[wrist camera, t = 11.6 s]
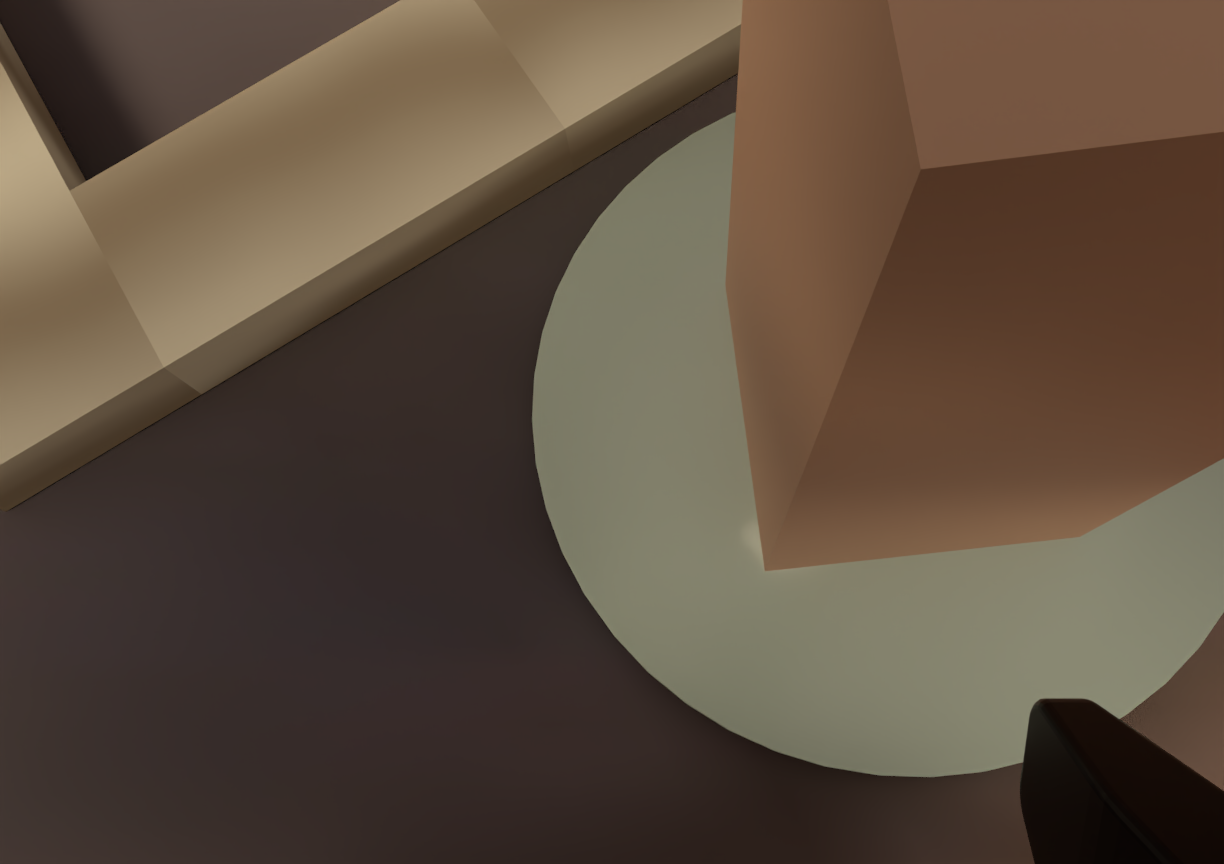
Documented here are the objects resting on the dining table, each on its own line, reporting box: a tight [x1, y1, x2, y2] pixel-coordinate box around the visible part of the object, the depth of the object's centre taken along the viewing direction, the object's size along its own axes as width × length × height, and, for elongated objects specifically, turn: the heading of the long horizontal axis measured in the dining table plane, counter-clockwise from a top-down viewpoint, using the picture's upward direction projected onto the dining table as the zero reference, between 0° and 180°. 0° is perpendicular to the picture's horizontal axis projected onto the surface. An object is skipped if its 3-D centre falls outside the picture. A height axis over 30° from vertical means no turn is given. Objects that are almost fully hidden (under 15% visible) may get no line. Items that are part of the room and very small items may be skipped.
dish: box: [532, 112, 1224, 777], centre depth 19 cm, size 12×12×1 cm
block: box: [725, 0, 1224, 571], centre depth 12 cm, size 5×5×13 cm
